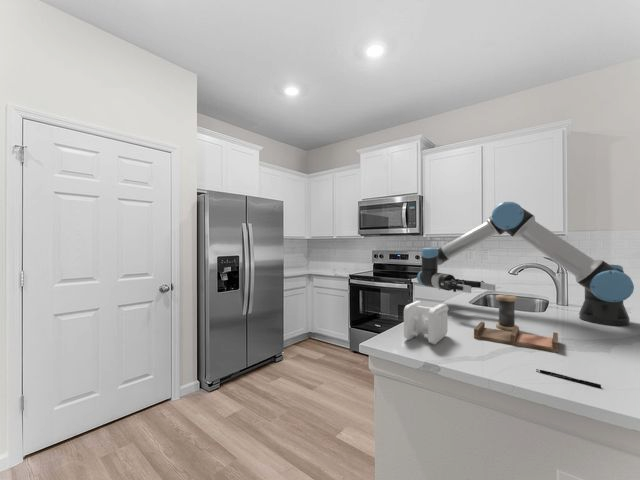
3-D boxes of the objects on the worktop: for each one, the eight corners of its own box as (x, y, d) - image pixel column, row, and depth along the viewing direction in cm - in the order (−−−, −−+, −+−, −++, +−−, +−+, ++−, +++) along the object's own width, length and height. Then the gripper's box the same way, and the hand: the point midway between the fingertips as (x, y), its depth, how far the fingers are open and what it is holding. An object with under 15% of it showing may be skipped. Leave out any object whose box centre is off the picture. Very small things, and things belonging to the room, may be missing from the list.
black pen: (535, 372, 78) (535, 369, 78) (536, 371, 78) (536, 367, 78) (600, 389, 69) (600, 385, 69) (601, 388, 69) (601, 384, 69)
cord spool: (518, 327, 116) (518, 296, 116) (516, 332, 111) (516, 299, 111) (497, 324, 120) (497, 294, 120) (494, 328, 115) (494, 297, 115)
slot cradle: (557, 342, 100) (557, 332, 100) (557, 352, 90) (557, 342, 90) (481, 329, 114) (481, 321, 114) (474, 338, 104) (473, 329, 104)
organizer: (419, 330, 113) (419, 299, 113) (449, 336, 107) (449, 302, 107) (403, 341, 102) (402, 306, 102) (435, 348, 95) (435, 310, 95)
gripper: (463, 288, 149) (504, 295, 129) (422, 291, 140) (459, 300, 120) (463, 272, 149) (504, 278, 129) (422, 274, 140) (459, 281, 120)
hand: (482, 288), depth 125 cm, fingers open, 13 cm apart
